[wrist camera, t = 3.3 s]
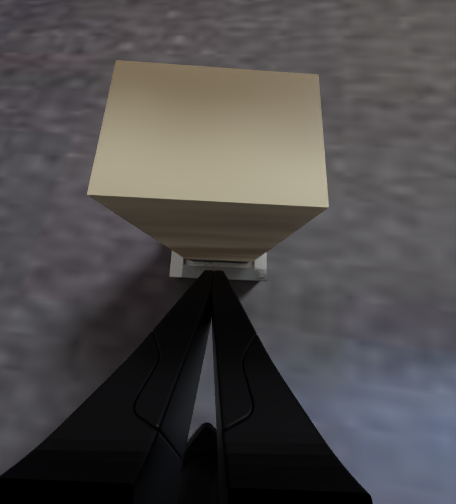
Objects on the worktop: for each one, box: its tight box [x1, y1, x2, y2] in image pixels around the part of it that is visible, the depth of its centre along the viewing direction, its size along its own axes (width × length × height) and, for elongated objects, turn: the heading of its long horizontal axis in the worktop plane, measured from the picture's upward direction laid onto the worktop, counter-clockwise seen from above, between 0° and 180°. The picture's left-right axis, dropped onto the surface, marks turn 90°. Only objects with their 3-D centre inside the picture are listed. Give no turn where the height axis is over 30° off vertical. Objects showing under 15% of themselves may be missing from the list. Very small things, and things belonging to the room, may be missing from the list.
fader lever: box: [87, 60, 329, 263], centre depth 10 cm, size 4×6×11 cm
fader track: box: [169, 251, 267, 281], centre depth 17 cm, size 18×8×2 cm, turn 178°
